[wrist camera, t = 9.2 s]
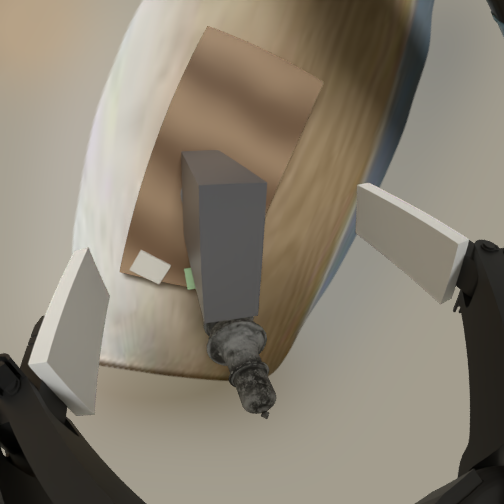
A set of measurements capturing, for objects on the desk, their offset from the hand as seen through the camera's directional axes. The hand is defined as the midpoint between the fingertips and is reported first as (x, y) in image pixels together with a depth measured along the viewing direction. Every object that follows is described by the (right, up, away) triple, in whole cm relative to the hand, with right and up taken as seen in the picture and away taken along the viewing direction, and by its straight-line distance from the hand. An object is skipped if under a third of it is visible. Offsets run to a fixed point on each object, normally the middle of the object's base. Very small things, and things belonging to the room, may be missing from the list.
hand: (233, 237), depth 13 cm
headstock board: (-2, +6, +9) cm, 11 cm away
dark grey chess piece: (-2, -8, +17) cm, 18 cm away
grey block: (-3, +2, +9) cm, 9 cm away
